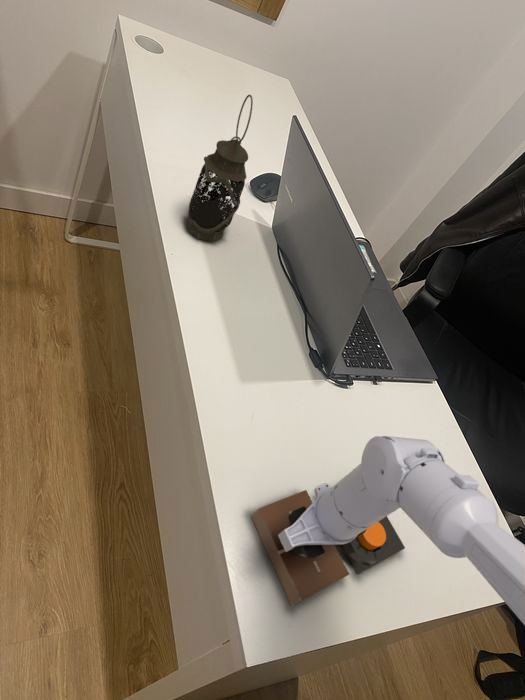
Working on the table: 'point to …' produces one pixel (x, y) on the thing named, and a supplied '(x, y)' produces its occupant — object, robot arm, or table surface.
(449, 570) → the table surface
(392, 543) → the switch block
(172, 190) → the table surface
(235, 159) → the lantern
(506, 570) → the robot arm
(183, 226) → the table surface
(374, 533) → the switch button
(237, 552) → the table surface
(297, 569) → the dimmer panel
